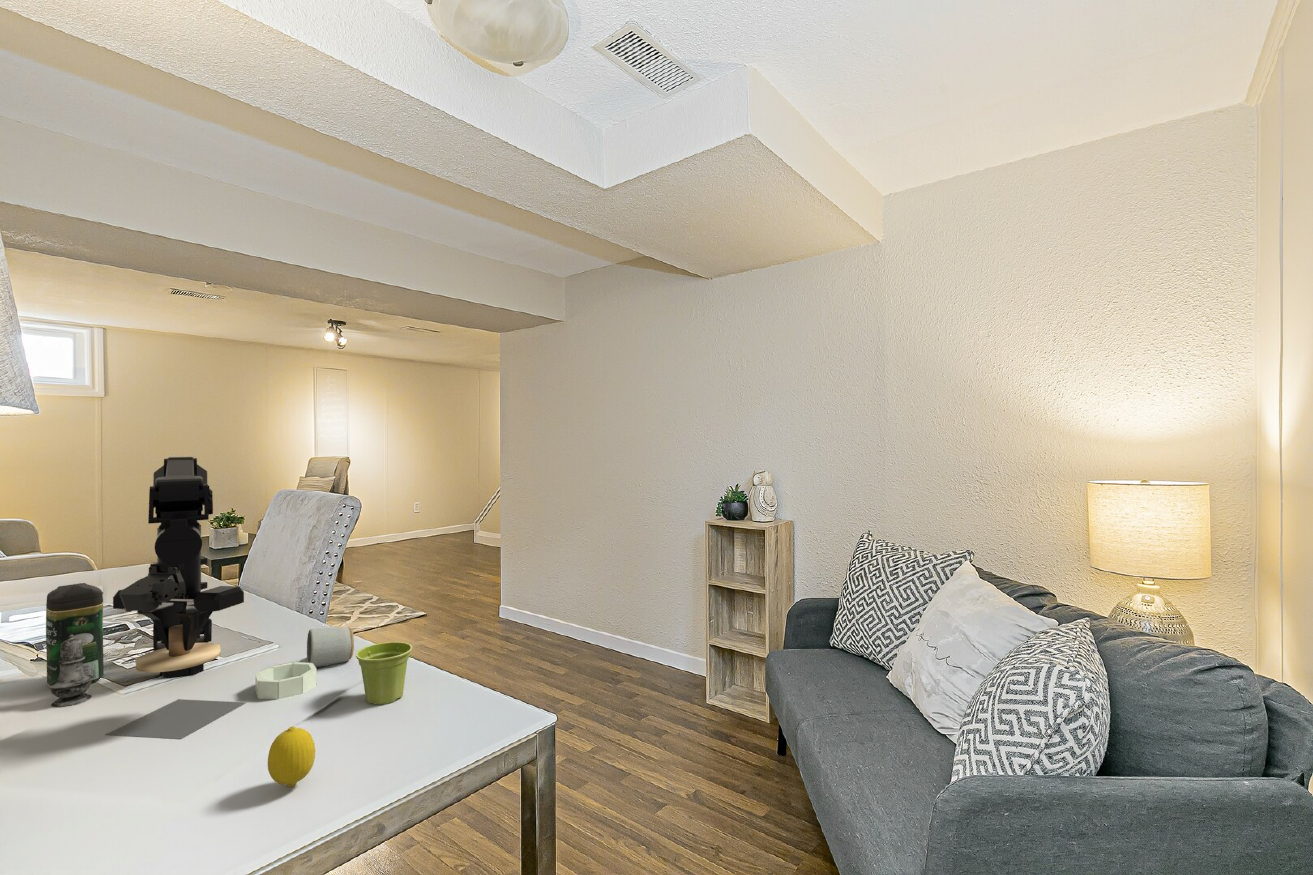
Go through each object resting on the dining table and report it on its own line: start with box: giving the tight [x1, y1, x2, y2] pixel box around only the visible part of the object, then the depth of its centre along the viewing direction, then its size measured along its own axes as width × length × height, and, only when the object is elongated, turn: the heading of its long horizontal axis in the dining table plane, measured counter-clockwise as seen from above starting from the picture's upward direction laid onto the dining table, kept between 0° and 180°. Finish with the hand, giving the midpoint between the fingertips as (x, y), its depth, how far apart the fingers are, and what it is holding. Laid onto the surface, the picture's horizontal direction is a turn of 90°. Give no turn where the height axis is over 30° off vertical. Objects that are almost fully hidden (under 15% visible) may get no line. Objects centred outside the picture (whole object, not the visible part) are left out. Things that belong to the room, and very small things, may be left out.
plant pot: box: [355, 641, 413, 706], centre depth 111 cm, size 9×9×9 cm
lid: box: [135, 624, 222, 673], centre depth 101 cm, size 11×11×5 cm
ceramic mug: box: [306, 626, 355, 668], centre depth 130 cm, size 11×8×8 cm
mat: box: [104, 698, 247, 740], centre depth 101 cm, size 13×13×1 cm
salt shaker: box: [48, 634, 94, 708], centre depth 110 cm, size 6×6×12 cm
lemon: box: [267, 726, 316, 788], centre depth 83 cm, size 6×6×8 cm
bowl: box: [254, 661, 317, 700], centre depth 113 cm, size 9×9×4 cm
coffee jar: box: [45, 582, 105, 685], centre depth 119 cm, size 10×8×19 cm
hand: (179, 649), depth 101 cm, fingers closed on lid, 3 cm apart
